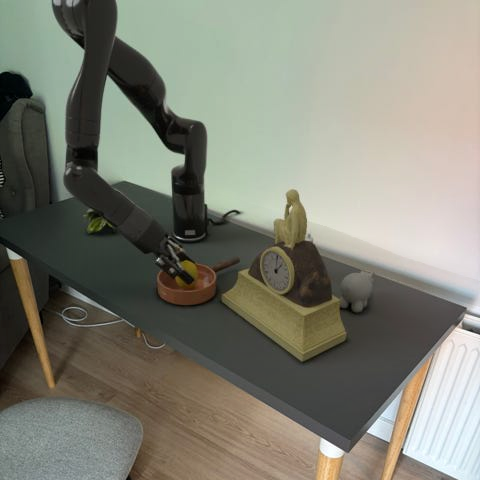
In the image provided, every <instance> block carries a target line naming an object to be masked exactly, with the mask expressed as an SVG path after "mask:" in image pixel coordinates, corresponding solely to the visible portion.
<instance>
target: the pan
mask: <svg viewBox="0 0 480 480" xmlns="http://www.w3.org/2000/svg"><path fill="white" fill-rule="evenodd" d="M195 266H196V268H197V271H198V281H197V283H196V285H195V286H194V287H192V288H190V289H188V290H186V289H184V288H181V287H180V286H179V285H178V284H177V282H176V278H174V279H173V278H171V277H170V276H169V275H168V274H167V273H165V272H164V271H163V270H162V269H161V270H160V271H159V272H158V273H157V275H156V276H157V277H156V283H157V293H158V295H159V296H160V297H159V298H161V299H163V300H164V301H166V302H168V303H170V304H173V305H181V306H193V305H198V304H202V303H205V302H207V301H209V300H210V299H212V298H213V297H215V295H216V292H217V274H216V273H217V272H216V273H215V272H214V271H213V270H212V269H211V268H210V267H209V266H207V265H205V264H201V263H197V262H195ZM169 271H170V269H169ZM206 271H208V272H209V273H208V274H207V272H206ZM170 272H171V271H170Z"/></svg>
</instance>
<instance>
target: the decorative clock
mask: <svg viewBox="0 0 480 480" xmlns="http://www.w3.org/2000/svg"><path fill="white" fill-rule="evenodd" d="M285 196H286V204H285V209H284V214H283V215H284V216H283V217H284V219H283V218H276V219H274V220H273V236H274V240H275V242H274V243H275V244H273V245H272V246H271V247H269V248H266V249H263V251H262V252H260V253H259V254H258V255H256V257H255V258H254V260H253V261H252V263H251V264H250V267H249V268H246V269H242V270H240V271H238V274H237V280H236V283H235V284H234V286H233V287H232V288H231V289H229V290H228V291H226V292H224V293H221V302H222V303H223V304H224V305H226V306H227V307H228V308H230V309H231V310H232V311H234V312H235V313H236V314H237V315H238V316H240V317H242V319H244V320H245V321H246V322H248V323H250V324H251V325H252V326H254V328H255V329H258V330H259V331H260V332H261V333H263V334H264V335H266V336H267V337H268V338H269V339H270V340H272V341H273V342H275V343H276V344H278V345H279V346H280V347H282V348H283V349H284V350H285V351H286V352H288V353H289V354H291V355H292V356H293V357H294V358H296V359H297V360H299V361H300V362H302V363H303V362H305V361H308V360H309V359H311V358H313V357H315V356H318V355H319V354H321V353H323V352H325V351H327V350H329V349H331V348H333V347H336V346H337V345H339V344H341V343H343V342H345V341H346V339H347V335H348V334H347V333H348V332H347V331H346V328H345V325H344V324H343V321H342V318H341V311H340V308H341V307H340V299H339V297H337V296H335V295H334V294H333V291H332V281H331V279H330V276H329V274H328V270H327V267H326V264H325V262H324V260H323V258H322V256H321V254H320V252H319V250H318V249H317V248H318V247H317V246H316V244H315V243H314V242H313V243H312V242H310V241H305V237H307V233H308V231H307V230H308V218H307V212H306V210H305V207H304V205H303V204H302V202H301V200H300V193H299V191H298V190H297V189H294V188H293V189H289V190H288V191H286V192H285ZM290 208H291V209H290Z"/></svg>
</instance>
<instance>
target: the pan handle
mask: <svg viewBox="0 0 480 480" xmlns="http://www.w3.org/2000/svg"><path fill="white" fill-rule="evenodd" d="M240 262H241V258H240V257H238V256H234V257H232V258H230V259H227V260H224V261H222V262H220V263H217V264H215V265H212V266H210V267H209V268H211V269H212V270H213V271H214V272H215V273H219V272H221V271H224V270H225V269H228V268H230V267H233V266H236V265H237V264H239V263H240ZM206 272H207V274H208V273H209V272H208V271H206Z"/></svg>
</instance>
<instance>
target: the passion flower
mask: <svg viewBox="0 0 480 480" xmlns="http://www.w3.org/2000/svg"><path fill="white" fill-rule="evenodd" d="M83 218H84V222H85V223H86V222H87V221H89V223H88V227H87V228H86V232H87V233H88V235H90V234H91V233H93V232H95V233H98V232H100V231H101V230H102V229H103V228H104V227H105V226H106V225H108V226H109V227H110V228H112V229H113V233H116V229H115V228H114V227H113V226H112V225H111V224H109V223H108V222H107V221H106V220H105V219H103V218H102V217H101V216H100V215H99V214H98V213H97V212H96V211H94V210H92V209H91V208H89V209H87V211H86V214H84V215H83Z"/></svg>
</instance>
